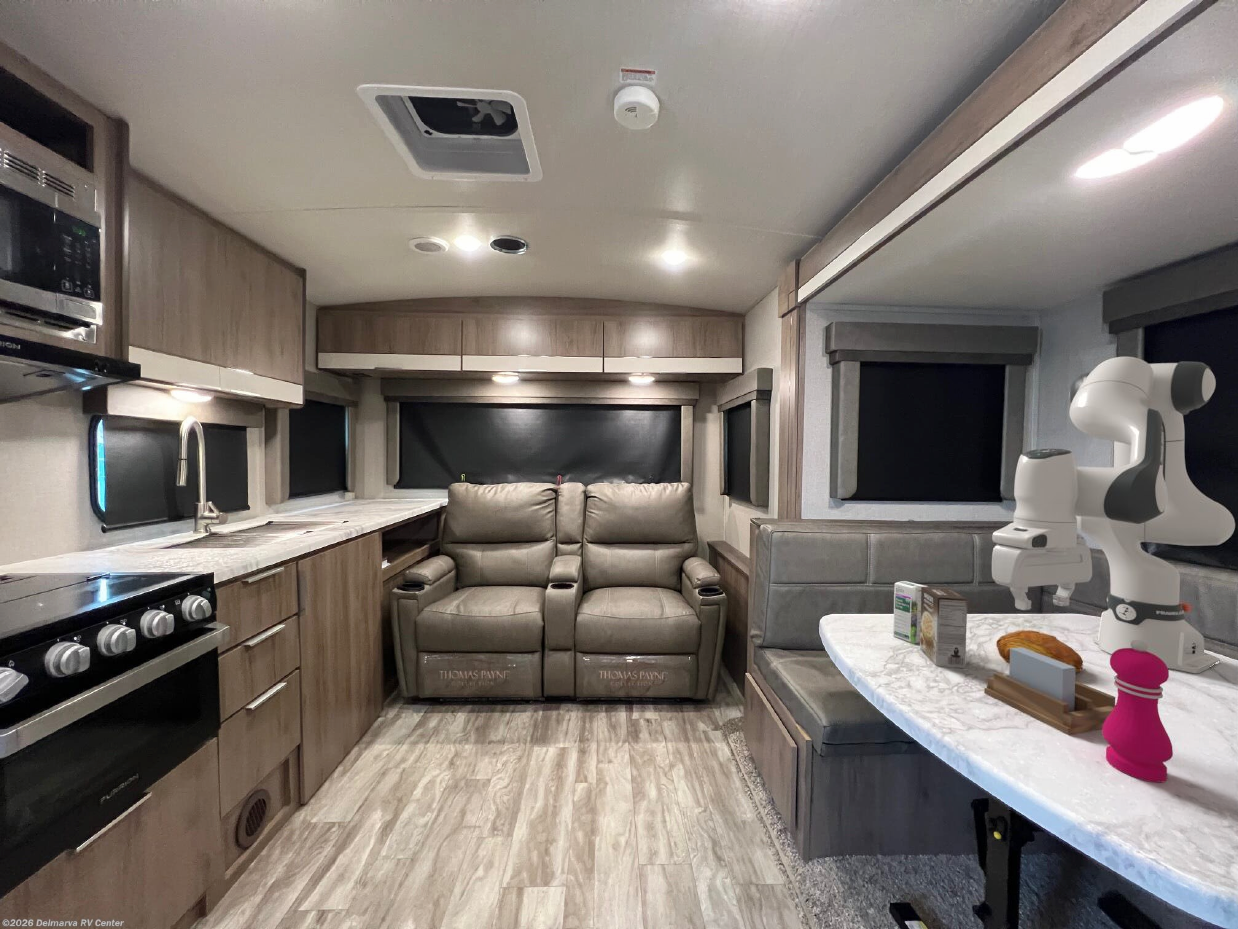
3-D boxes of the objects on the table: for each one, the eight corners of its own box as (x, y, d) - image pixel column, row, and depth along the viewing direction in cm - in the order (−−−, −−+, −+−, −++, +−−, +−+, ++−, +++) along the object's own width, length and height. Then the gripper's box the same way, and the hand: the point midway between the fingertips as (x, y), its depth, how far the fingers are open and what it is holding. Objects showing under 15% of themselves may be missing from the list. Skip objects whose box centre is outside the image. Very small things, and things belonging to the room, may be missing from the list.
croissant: (984, 663, 112) (981, 631, 112) (1028, 647, 116) (1024, 616, 116) (1055, 691, 98) (1052, 655, 98) (1102, 672, 103) (1098, 637, 102)
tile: (1020, 691, 92) (1021, 647, 92) (1074, 716, 83) (1075, 667, 83) (1008, 693, 91) (1010, 648, 91) (1061, 718, 83) (1063, 669, 82)
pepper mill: (1088, 754, 74) (1091, 631, 74) (1128, 752, 75) (1132, 630, 74) (1142, 786, 67) (1147, 650, 67) (1186, 784, 67) (1191, 649, 67)
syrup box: (892, 636, 123) (893, 582, 122) (905, 632, 125) (906, 580, 125) (914, 644, 118) (915, 588, 117) (927, 640, 120) (928, 585, 120)
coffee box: (918, 649, 114) (919, 585, 114) (947, 652, 113) (948, 587, 113) (935, 666, 105) (937, 596, 105) (967, 669, 104) (969, 598, 104)
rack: (1036, 685, 97) (1037, 664, 96) (1126, 724, 83) (1126, 700, 82) (984, 692, 93) (984, 671, 93) (1067, 734, 79) (1068, 709, 79)
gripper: (1065, 529, 92) (1063, 598, 93) (985, 533, 88) (983, 605, 88) (1105, 535, 86) (1103, 608, 86) (1020, 539, 81) (1019, 617, 82)
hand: (1042, 607), depth 87 cm, fingers open, 8 cm apart
